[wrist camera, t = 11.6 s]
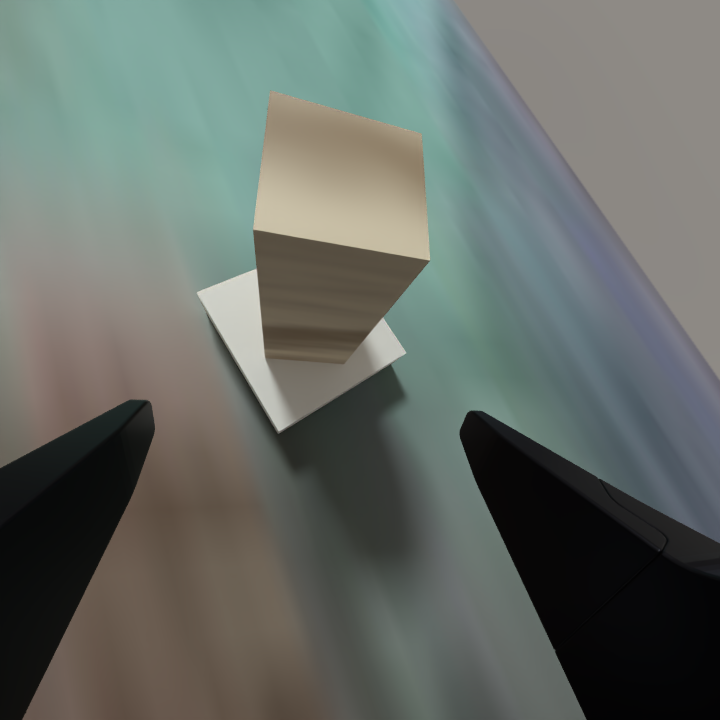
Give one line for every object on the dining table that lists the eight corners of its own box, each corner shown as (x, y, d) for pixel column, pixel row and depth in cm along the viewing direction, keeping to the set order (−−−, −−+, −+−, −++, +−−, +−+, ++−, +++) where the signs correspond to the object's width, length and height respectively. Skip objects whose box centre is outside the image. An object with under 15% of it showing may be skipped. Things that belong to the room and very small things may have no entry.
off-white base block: (278, 434, 21) (278, 431, 18) (206, 312, 22) (196, 292, 19) (391, 364, 24) (406, 353, 22) (325, 262, 25) (331, 239, 23)
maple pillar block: (344, 364, 20) (429, 260, 9) (264, 358, 19) (253, 229, 8) (345, 295, 22) (421, 133, 11) (271, 285, 20) (270, 90, 9)
